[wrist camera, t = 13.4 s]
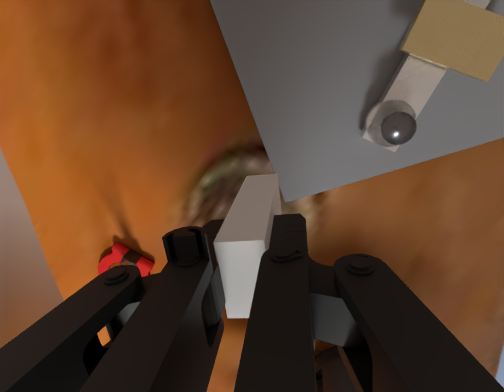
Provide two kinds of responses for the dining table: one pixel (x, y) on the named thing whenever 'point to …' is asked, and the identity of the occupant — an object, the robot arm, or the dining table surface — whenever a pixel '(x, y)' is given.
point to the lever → (404, 99)
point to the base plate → (344, 88)
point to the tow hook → (125, 260)
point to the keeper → (456, 37)
